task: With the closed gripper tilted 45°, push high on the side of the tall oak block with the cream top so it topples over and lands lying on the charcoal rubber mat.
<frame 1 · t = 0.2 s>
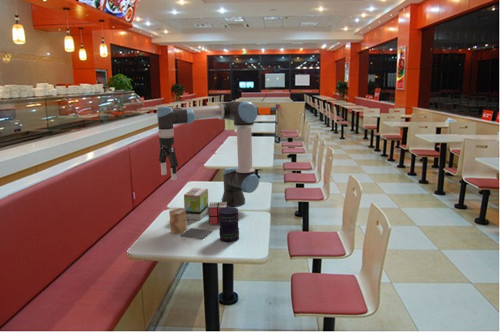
hand: (169, 177, 208), 28 cm above the table, tool pointing down, fingers open, 13 cm apart
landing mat: (196, 233, 204), on the table
puzzle cube: (218, 222, 221), on the table
storage jar: (229, 239, 198), on the table
tea box: (197, 215, 232), on the table
oak block: (178, 231, 208), on the table
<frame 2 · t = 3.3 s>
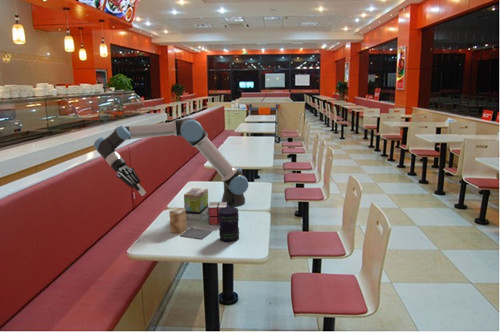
hand: (144, 194, 212), 18 cm above the table, tool tilted 45°, fingers closed
nothing on the table moved.
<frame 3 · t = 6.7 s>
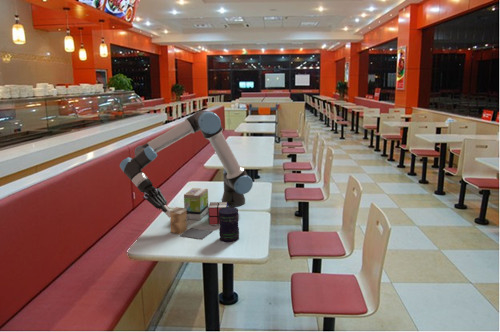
hand: (171, 215, 208), 8 cm above the table, tool tilted 45°, fingers closed
oak block: (178, 231, 208), on the table, touching gripper
everything else where it was.
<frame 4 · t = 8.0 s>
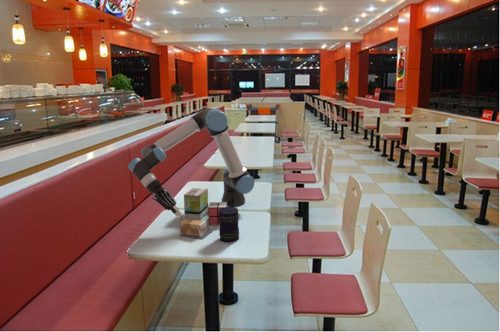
hand: (180, 216, 206), 8 cm above the table, tool tilted 45°, fingers closed
oak block: (183, 225, 206), point 3 cm above the table, tilted 90°, touching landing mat
everything else where it was.
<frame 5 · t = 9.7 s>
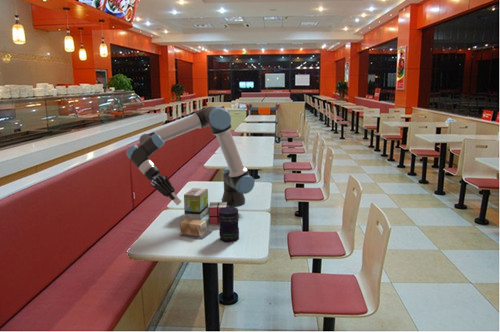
hand: (179, 203, 204), 16 cm above the table, tool tilted 45°, fingers closed
nothing on the table moved.
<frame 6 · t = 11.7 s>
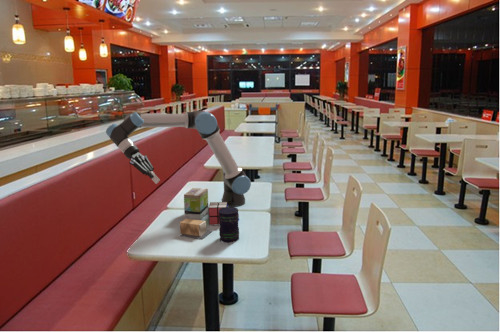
hand: (158, 181, 206), 26 cm above the table, tool tilted 45°, fingers closed
nothing on the table moved.
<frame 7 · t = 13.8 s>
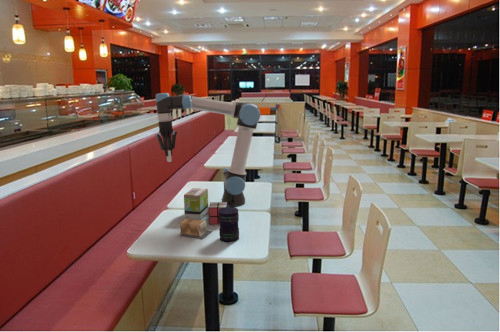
hand: (169, 161, 229), 32 cm above the table, tool pointing down, fingers closed
nothing on the table moved.
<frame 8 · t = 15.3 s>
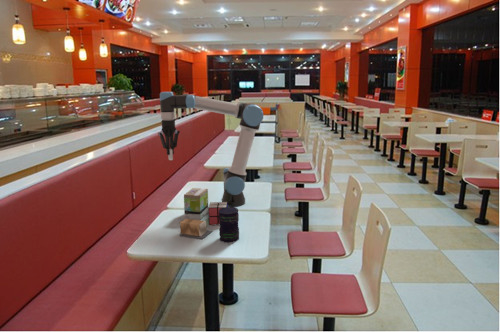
hand: (170, 160, 230), 32 cm above the table, tool pointing down, fingers closed
nothing on the table moved.
at the end: oak block tilted 90°; oak block touching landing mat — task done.
